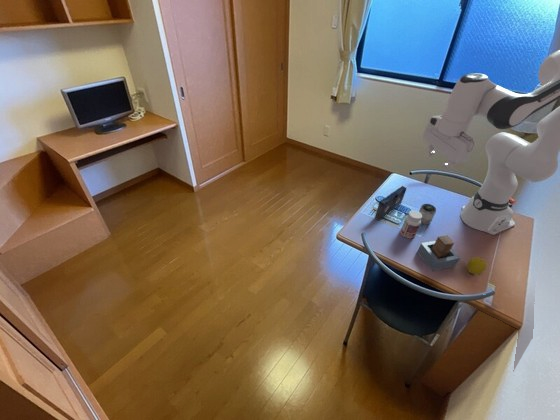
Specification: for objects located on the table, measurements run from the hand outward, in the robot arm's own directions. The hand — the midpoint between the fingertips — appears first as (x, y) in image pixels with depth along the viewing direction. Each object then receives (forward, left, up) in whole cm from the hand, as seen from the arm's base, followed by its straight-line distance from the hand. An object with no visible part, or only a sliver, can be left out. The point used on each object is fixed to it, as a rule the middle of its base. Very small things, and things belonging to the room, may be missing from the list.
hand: (438, 161), depth 105 cm
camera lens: (-8, -2, -33) cm, 34 cm away
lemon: (-8, +28, -33) cm, 44 cm away
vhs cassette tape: (+4, -12, -33) cm, 36 cm away
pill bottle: (+4, +4, -33) cm, 34 cm away
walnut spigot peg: (+1, +19, -32) cm, 37 cm away
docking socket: (+1, +19, -33) cm, 38 cm away
